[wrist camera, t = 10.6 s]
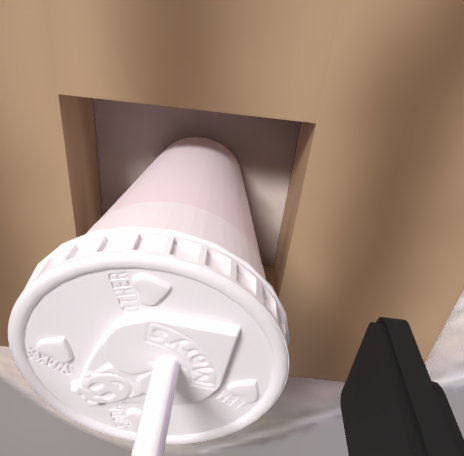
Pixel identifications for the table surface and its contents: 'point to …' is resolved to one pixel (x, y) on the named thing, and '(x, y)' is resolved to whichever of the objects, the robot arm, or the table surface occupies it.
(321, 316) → the socket board
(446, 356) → the table surface
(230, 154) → the smoothie
